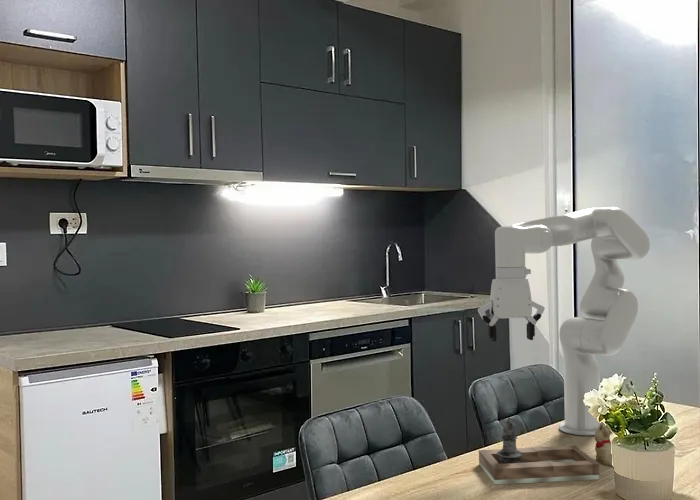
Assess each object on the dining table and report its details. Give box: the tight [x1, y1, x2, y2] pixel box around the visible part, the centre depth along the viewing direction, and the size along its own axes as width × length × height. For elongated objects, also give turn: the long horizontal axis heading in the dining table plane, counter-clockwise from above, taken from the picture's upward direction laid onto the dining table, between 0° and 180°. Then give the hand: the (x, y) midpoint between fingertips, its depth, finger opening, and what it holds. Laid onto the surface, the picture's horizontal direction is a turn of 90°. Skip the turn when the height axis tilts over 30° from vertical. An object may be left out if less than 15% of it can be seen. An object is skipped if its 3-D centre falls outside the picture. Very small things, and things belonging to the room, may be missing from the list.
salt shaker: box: [497, 417, 523, 464], centre depth 168 cm, size 6×6×12 cm
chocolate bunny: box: [594, 422, 613, 467], centre depth 175 cm, size 6×8×10 cm
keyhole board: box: [478, 445, 600, 485], centre depth 168 cm, size 24×14×4 cm, turn 94°
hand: (511, 340), depth 186 cm, fingers open, 9 cm apart
